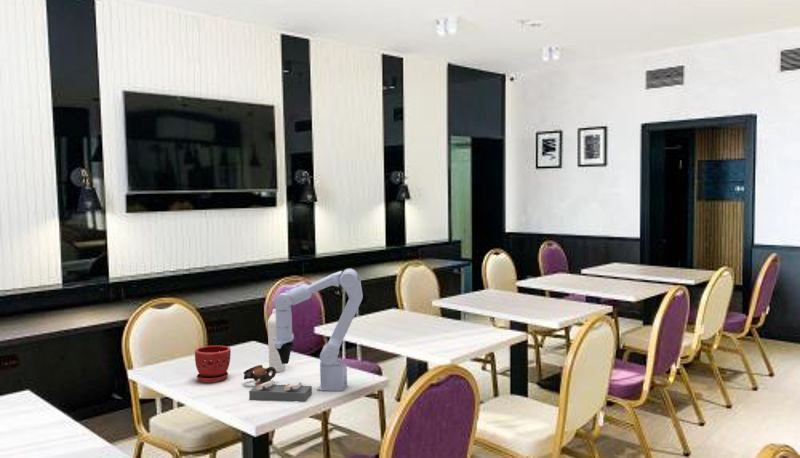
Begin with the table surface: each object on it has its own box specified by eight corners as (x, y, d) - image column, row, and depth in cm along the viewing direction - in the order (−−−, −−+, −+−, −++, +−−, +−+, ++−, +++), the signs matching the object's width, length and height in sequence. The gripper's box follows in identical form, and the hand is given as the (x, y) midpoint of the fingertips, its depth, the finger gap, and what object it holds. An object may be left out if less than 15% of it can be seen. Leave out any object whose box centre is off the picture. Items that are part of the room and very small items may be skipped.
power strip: (312, 394, 221) (311, 385, 221) (304, 401, 213) (304, 392, 213) (258, 392, 225) (258, 383, 224) (249, 399, 217) (249, 390, 216)
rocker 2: (301, 385, 218) (300, 381, 218) (298, 388, 214) (297, 384, 214) (288, 387, 219) (287, 383, 219) (284, 391, 215) (283, 387, 215)
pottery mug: (249, 391, 227) (241, 370, 229) (248, 395, 235) (240, 375, 237) (281, 378, 232) (272, 358, 234) (278, 383, 240) (271, 363, 242)
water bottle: (276, 373, 247) (274, 311, 245) (265, 370, 251) (263, 309, 249) (293, 368, 254) (291, 307, 252) (282, 365, 258) (280, 305, 256)
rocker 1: (274, 383, 219) (272, 379, 219) (270, 386, 216) (269, 382, 216) (262, 387, 220) (260, 384, 220) (258, 391, 217) (256, 387, 217)
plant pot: (221, 385, 234) (220, 353, 233) (189, 383, 236) (188, 352, 235) (237, 374, 246) (236, 344, 246) (206, 373, 249) (205, 343, 248)
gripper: (280, 321, 234) (281, 357, 235) (266, 330, 220) (267, 368, 221) (298, 322, 233) (299, 358, 234) (285, 331, 219) (286, 369, 220)
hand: (285, 363), depth 227 cm, fingers closed
